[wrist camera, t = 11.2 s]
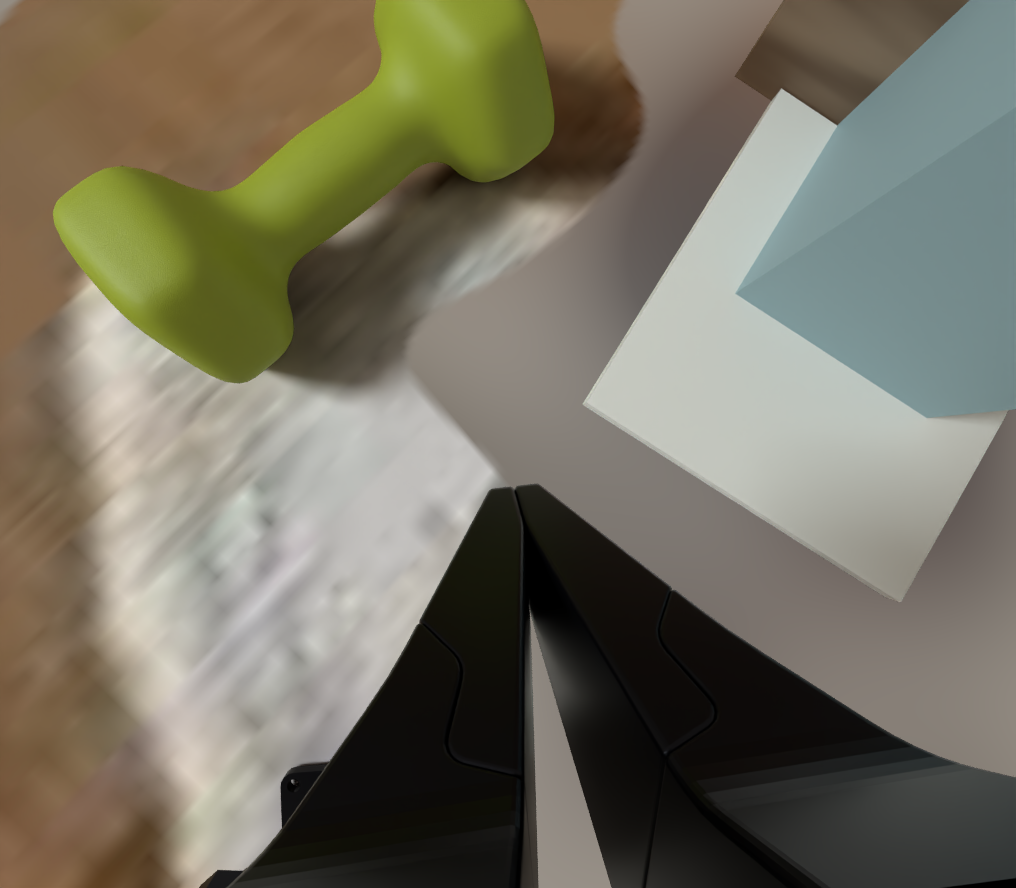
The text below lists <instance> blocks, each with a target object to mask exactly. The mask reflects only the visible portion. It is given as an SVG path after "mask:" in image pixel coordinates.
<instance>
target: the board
mask: <svg viewBox="0 0 1016 888" xmlns="http://www.w3.org/2000/svg"><path fill="white" fill-rule="evenodd" d="M968 1H969V0H784V1H783V2H782V4H781V5H780V7H779V8H778V10H777V11H776V13H775V14H774V16H773V17H772V19H771V20H770V22H769V24H768V25H767V26H766V28H765V30H764V31H763V33H762V34H761V36H760V37H759V39H758V40H757V42H756V44H755V45H754V47H753V48H752V50H751V52H750V53H749V55H748V57H747V58H746V60H745V61H744V63H743V64H742V66H741V68H740V69H739V71H738V72H737V74H736V75H735V77H737V78H738V79H740V80H741V81H743V82H744V83H746V84H748V85H749V86H750V87H752V88H753V89H755V90H756V91H758V92H759V93H761V94H762V95H764V96H765V97H767V98H768V99H770V100H771V101H772V100H773V98H774V97H775V96H776V95H777V93H778V92H779V91H780V90H781V89H783V90H784V91H786V92H787V93H789V94H790V95H792V96H793V97H795V98H797V99H798V100H800V101H801V102H803V103H804V104H806V105H807V106H809V107H810V108H812V109H813V110H815V111H816V112H818V113H819V114H821V115H822V116H824V117H825V118H827V119H828V120H830V121H831V122H833V123H834V124H836V125H837V126H838V124H839V123H840V122H841V121H842V120H843V119H845V118H846V117H847V116H848V115H849V114H850V113H851V112H852V111H853V110H854V109H855V108H856V107H857V106H858V105H859V104H860V103H861V102H863V101H864V100H865V99H866V98H867V97H868V96H869V95H870V94H871V93H872V92H873V91H874V90H875V89H876V88H877V87H878V86H879V85H881V84H882V83H883V82H884V81H885V80H886V79H887V78H888V77H889V76H890V75H891V74H892V73H893V72H894V71H895V70H896V69H897V68H898V67H900V66H901V65H902V64H903V63H904V62H905V61H906V60H907V59H908V58H909V57H910V56H911V55H912V54H913V53H914V52H915V51H916V50H918V49H919V48H920V47H921V46H922V45H923V44H924V43H925V42H926V41H927V40H928V39H929V38H930V37H931V36H932V35H933V34H934V33H935V32H937V31H938V30H939V29H940V28H941V27H942V26H943V25H944V24H945V23H946V22H947V21H948V20H949V19H950V18H951V17H952V16H953V15H955V14H956V13H957V12H958V11H959V10H960V9H961V8H962V7H963V6H964V5H965V4H966V3H967V2H968Z"/></svg>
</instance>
